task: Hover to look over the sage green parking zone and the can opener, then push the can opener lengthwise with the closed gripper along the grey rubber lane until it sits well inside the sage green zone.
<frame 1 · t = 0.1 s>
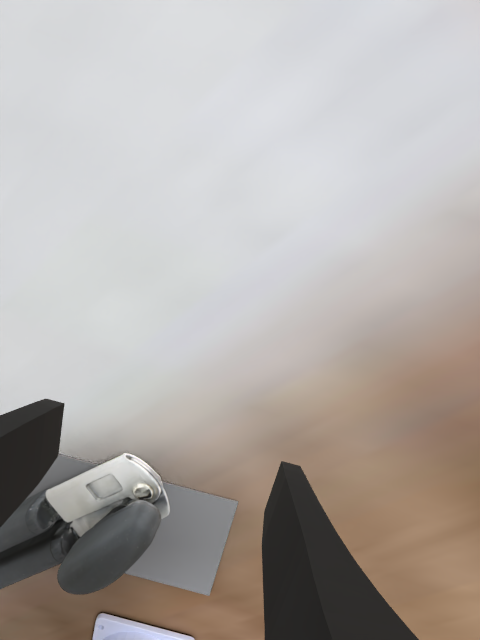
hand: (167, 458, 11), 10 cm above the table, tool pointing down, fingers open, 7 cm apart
can opener: (63, 506, 25), on the table, touching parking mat
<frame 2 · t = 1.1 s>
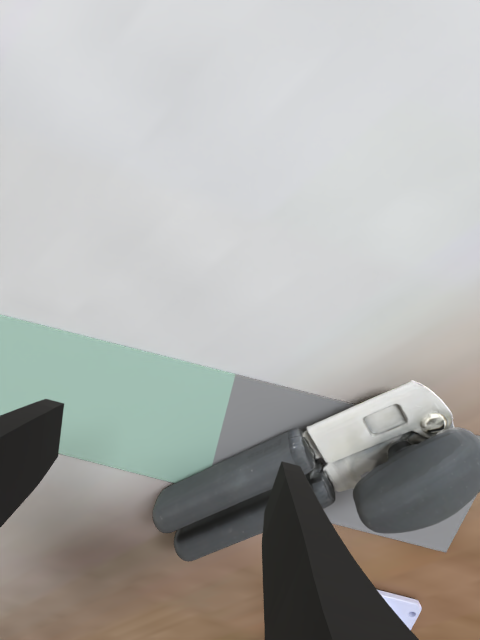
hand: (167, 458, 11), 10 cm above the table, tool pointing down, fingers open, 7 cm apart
can opener: (293, 453, 23), on the table, touching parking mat
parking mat: (182, 425, 23), on the table
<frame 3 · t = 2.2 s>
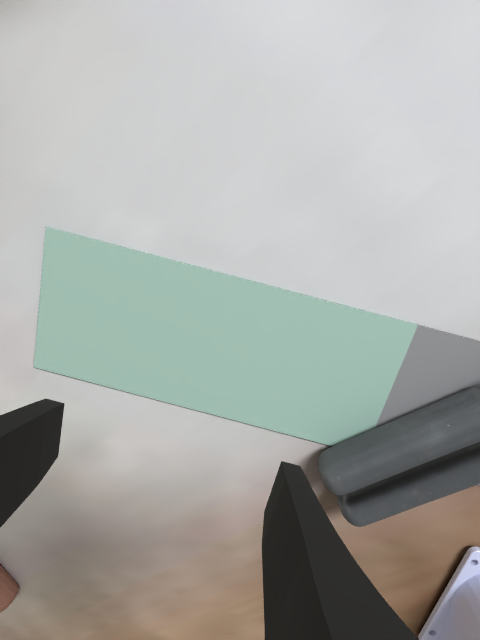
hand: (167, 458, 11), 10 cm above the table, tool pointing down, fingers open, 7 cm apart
can opener: (467, 413, 21), on the table, touching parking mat
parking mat: (348, 382, 21), on the table
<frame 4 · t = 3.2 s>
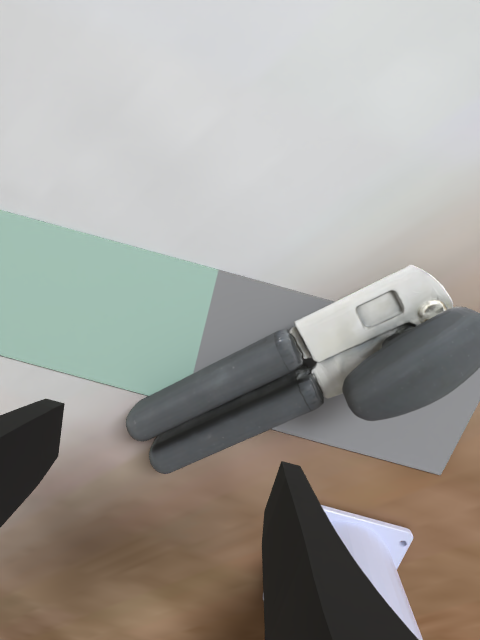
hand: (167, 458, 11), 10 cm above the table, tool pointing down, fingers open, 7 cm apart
can opener: (280, 362, 21), on the table, touching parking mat
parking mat: (161, 330, 21), on the table
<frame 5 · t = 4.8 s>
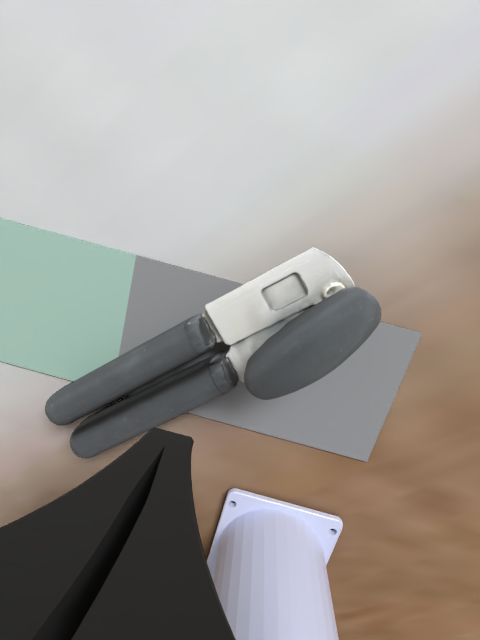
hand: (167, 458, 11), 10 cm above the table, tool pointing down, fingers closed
can opener: (203, 348, 21), on the table, touching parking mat
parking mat: (84, 316, 21), on the table
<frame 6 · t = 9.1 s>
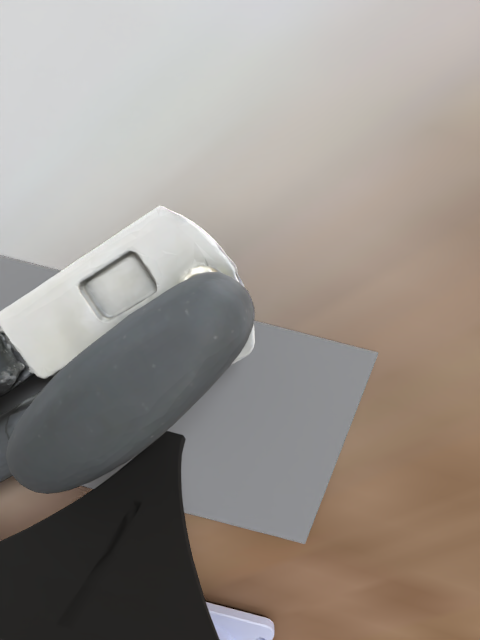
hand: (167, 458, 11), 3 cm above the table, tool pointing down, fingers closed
can opener: (40, 379, 14), on the table, touching gripper, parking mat
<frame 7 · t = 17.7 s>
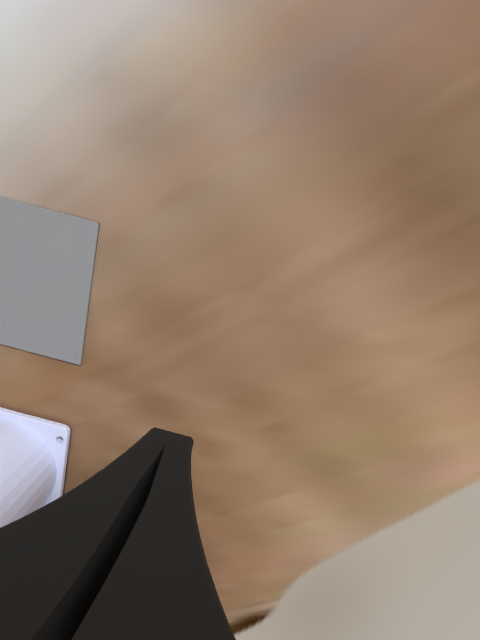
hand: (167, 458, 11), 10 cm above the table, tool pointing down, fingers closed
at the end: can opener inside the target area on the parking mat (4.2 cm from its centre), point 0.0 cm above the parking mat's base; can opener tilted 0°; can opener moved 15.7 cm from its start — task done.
